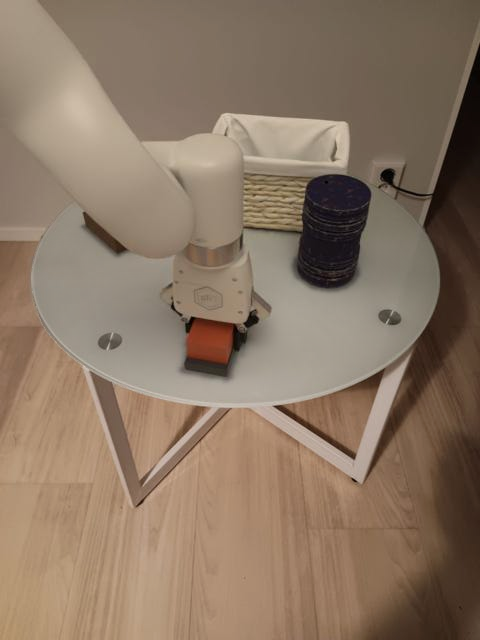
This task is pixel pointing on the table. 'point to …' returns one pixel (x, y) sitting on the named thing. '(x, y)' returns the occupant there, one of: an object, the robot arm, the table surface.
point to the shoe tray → (103, 234)
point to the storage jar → (332, 229)
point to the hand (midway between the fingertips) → (216, 338)
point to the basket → (283, 163)
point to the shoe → (210, 346)
